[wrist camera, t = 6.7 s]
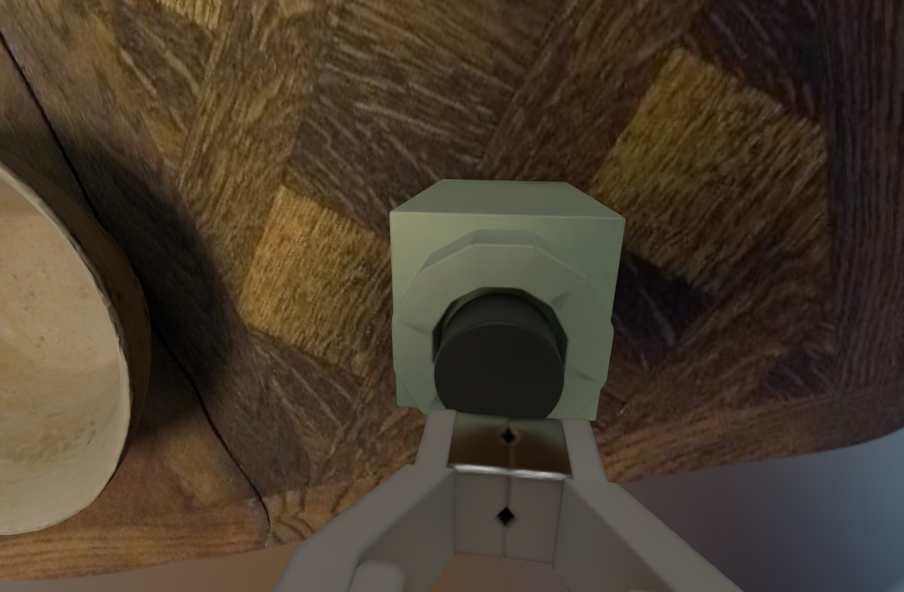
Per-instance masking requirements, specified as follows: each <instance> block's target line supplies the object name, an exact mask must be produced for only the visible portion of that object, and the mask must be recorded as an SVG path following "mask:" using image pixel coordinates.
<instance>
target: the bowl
mask: <svg viewBox="0 0 904 592" xmlns="http://www.w3.org/2000/svg"><path fill="white" fill-rule="evenodd" d="M151 357H152V339H151V325H150V316H149V309H148V304H147V301H146V299H145V296H144V293H143V290H142V287H141V284H140V282H139V280H138V278H137V276H136V275H135V273H134V271H133V270H132V268H131V265H130V262H129V261H128V259H127V257H126V256H125V254H124V253H123V252H122V250H121V249H120V247H119V246H118V245H117V243H116V242H115V241H114V240H113V238H112V237H111V236H110V235H109V233H107V232H106V231H105V230H104V228H103V227H102V226H101V225H100V224H99V222H98V221H97V220H96V219H95V218H94V217H93V216H92V215H91V214H90V213H89V212H88V211H87V210H86V209H85V208H84V207H83V206H82V205H81V204H79V203H78V202H77V201H76V200H75V199H74V198H73V197H71V196H70V195H69V194H68V193H67V192H66V191H65V190H63V189H62V188H61V187H60V186H58V185H57V184H55V183H54V182H53V181H51V180H50V179H48V178H47V177H45V176H44V175H42V174H41V173H40V172H38V171H37V170H35V169H34V168H32V167H30V166H28V165H26V164H25V163H23V162H22V161H20V160H19V159H17V158H16V157H14V156H13V155H11V154H10V153H8V152H7V151H5V150H3V149H2V148H0V535H12V534H19V533H25V532H32V531H38V530H42V529H45V528H48V527H51V526H53V525H55V524H58V523H60V522H62V521H64V520H66V519H68V518H70V517H72V516H73V515H75V514H77V513H79V512H81V511H82V510H83V509H85V508H86V507H88V506H89V505H90V504H91V503H92V502H94V501H95V500H96V498H97V497H98V496H99V495H100V494H101V493H102V492H103V490H104V489H105V488H106V486H107V485H108V484H109V482H110V481H111V480H112V478H113V477H114V475H115V473H116V471H117V470H118V468H119V466H120V465H121V463H122V461H123V460H124V458H125V456H126V454H127V452H128V449H129V447H130V445H131V443H132V440H133V438H134V435H135V432H136V429H137V426H138V423H139V419H140V416H141V413H142V410H143V406H144V403H145V399H146V395H147V391H148V382H149V375H150V370H151Z"/></svg>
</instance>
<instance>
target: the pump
mask: <svg viewBox="0 0 904 592" xmlns="http://www.w3.org/2000/svg"><path fill="white" fill-rule="evenodd" d="M434 383H435V388H436V391H437V394H438V396H439V398H440V400H441V402H442V404H443V405H444V407H445V408H446V409H451V410H456V411H458V410H462V411H472V412H483V413H493V414H503V415H508V416H523V417H539V418H547V417H548V416H549V415H550V413H551V412H552V411H553V410H554V408H555V407H556V405H557V404H558V402H559V400H560V398H561V395H562V392H563V388H564V369H563V365H562V361H561V358H560V354H559V350H558V347H557V343H556V339H555V336H554V332H553V329H552V326H551V324H550V322H549V321H548V319H547V317H546V316H545V315H544V314H543V312H542V311H541V310H540V309H538V308H537V307H536V306H535V305H533V304H532V303H531V302H529V301H527V300H525V299H523V298H520V297H517V296H514V295H509V294H488V295H483V296H479V297H477V298H474V299H472V300H470V301H468V302H467V303H465V304H464V305H462V306H461V307H460V308H459V309H458V310H457V311H456V312H455V313H454V314H453V316H452V317H451V318H450V320H449V322H448V324H447V327H446V329H445V332H444V336H443V339H442V342H441V346H440V349H439V352H438V356H437V359H436V363H435V367H434Z"/></svg>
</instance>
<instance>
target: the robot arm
mask: <svg viewBox="0 0 904 592" xmlns="http://www.w3.org/2000/svg"><path fill="white" fill-rule="evenodd" d="M454 553H456V554H467V555H480V556H493V557H504V558H511V559H518V560H525V561H532V562H540V563H547V564H554V566H553V567H554V569H555V570H556V572H557V573H558V575H559V576H560V578H561V580H562V581H563V583H564V584H565V585H566V587H567V589H568V590H569V592H743V591H742V590H741V589H740V588H738V587H737V586H736V585H735V584H734V583H733V582H731V581H730V580H729V579H728V578H727V577H726V576H724V575H723V574H722V573H721V572H720V571H719V570H717V569H716V568H715V567H714V566H713V565H711V564H710V563H709V562H708V561H707V560H706V559H705V558H703V557H702V556H701V555H700V554H699V553H698V552H697V551H695V550H694V549H693V548H692V547H691V546H690V545H688V544H687V543H686V542H685V541H684V540H683V539H681V538H680V537H679V536H678V535H676V534H675V533H674V532H673V531H672V530H671V529H669V527H667V526H666V525H665V524H664V523H663V522H662V521H660V520H659V519H658V518H657V517H656V516H655V515H653V514H652V513H651V512H650V511H649V510H648V509H647V508H645V507H644V506H643V505H642V504H641V503H639V502H638V501H637V500H636V499H635V498H634V497H633V496H631V495H630V494H629V493H628V492H627V491H626V490H624V489H623V488H622V487H621V486H620V485H619V484H617V483H610V482H608V480H607V476H606V473H605V470H604V467H603V463H602V460H601V457H600V454H599V451H598V447H597V444H596V441H595V438H594V435H593V431H592V428H591V425H590V422H589V421H588V420H587V419H568V418H560V419H555V418H539V417H523V416H508V415H503V414H493V413H483V412H472V411H462V410H458V411H456V410H451V409H437V408H432V409H431V410H430V411H429V414H428V417H427V421H426V425H425V428H424V432H423V435H422V439H421V442H420V446H419V450H418V453H417V457H416V460H415V464H414V465H409V464H406V465H405V466H403V467H402V468H401V469H399V470H398V471H397V472H395V473H394V474H393V475H391V476H390V477H389V478H387V479H386V480H385V481H383V482H382V483H381V484H379V485H378V486H377V487H375V488H374V489H373V490H371V491H370V492H369V493H367V494H366V495H365V496H363V497H362V498H361V499H359V500H358V501H357V502H355V503H354V504H353V505H351V506H350V507H349V508H347V509H346V510H345V511H343V512H342V513H341V514H339V515H338V516H337V517H335V518H334V519H333V520H331V521H330V522H329V523H327V524H326V525H325V526H323V527H322V528H321V529H319V530H318V531H317V532H315V533H314V534H313V535H311V536H310V537H309V538H307V539H306V540H305V541H303V542H302V543H301V544H299V545H298V546H297V547H295V549H294V551H293V553H292V554H291V557H290V558H289V560H288V562H287V564H286V566H285V568H284V570H283V572H282V574H281V576H280V578H279V580H278V581H277V583H276V585H275V587H274V589H273V591H272V592H428V590H429V589H430V588H431V587H432V585H433V584H434V583H435V581H436V580H437V579H438V577H439V576H440V575H441V573H442V572H443V571H444V570H445V568H446V567H447V566H448V564H449V563H450V561H451V560H452V559H453V558H454Z"/></svg>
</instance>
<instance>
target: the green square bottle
mask: <svg viewBox="0 0 904 592" xmlns="http://www.w3.org/2000/svg"><path fill="white" fill-rule="evenodd" d="M625 221H626V220H625V218H624V217H622V216H621V215H619V214H617V213H616V212H614V211H613V210H611V209H609V208H608V207H606V206H604V205H603V204H601V203H600V202H598V201H596V200H595V199H593V198H591V197H590V196H588V195H587V194H585V193H583V192H582V191H580V190H578V189H577V188H575V187H574V186H572V185H570V184H569V183H567V182H551V181H500V180H449V179H442V180H440V181H439V182H437V183H435V184H434V185H432V186H431V187H429V188H427V189H426V190H424V191H423V192H421V193H419V194H418V195H416V196H415V197H413V198H411V199H410V200H408V201H407V202H405V203H403V204H402V205H400V206H399V207H397V208H395V209H394V210H392V211H390V239H391V265H392V290H393V316H392V344H393V366H394V371H395V373H396V390H397V405H398V406H401V407H415V408H419V409H420V411H421V412H422V413H423V414H425V415H427V416H428V414H429V411H430V410H431V409H432V408H437V409H446V408H445V407H444V405H443V404H442V402H441V400H440V398H439V396H438V394H437V391H436V388H435V383H434V367H435V363H436V359H437V356H438V352H439V349H440V346H441V342H442V339H443V336H444V332H445V329H446V327H447V324H448V322H449V320H450V318H451V317H452V316H453V314H454V313H455V312H456V311H457V310H458V309H459V308H460V307H461V306H462V305H464V304H465V303H467V302H468V301H470V300H472V299H474V298H477V297H479V296H483V295H488V294H509V295H514V296H517V297H520V298H523V299H525V300H527V301H529V302H531V303H532V304H533V305H535V306H536V307H537V308H538V309H540V310H541V311H542V312H543V314H544V315H545V316H546V317H547V319H548V321H549V322H550V324H551V326H552V329H553V332H554V336H555V339H556V343H557V347H558V350H559V354H560V358H561V361H562V365H563V369H564V388H563V392H562V395H561V398H560V400H559V402H558V404H557V405H556V407H555V408H554V410H553V411H552V412H551V413H550V415H549V416H548V417H547V418H555V419H560V418H568V419H587V420H592V421H594V420H596V415H597V409H598V402H599V395H600V389H601V388H602V387H603V386H604V384H605V382H606V380H607V374H608V367H609V360H610V354H611V347H612V341H613V334H614V331H613V330H614V328H613V326H612V324H611V322H610V321H611V315H612V308H613V301H614V295H615V288H616V281H617V274H618V268H619V261H620V254H621V248H622V241H623V234H624V227H625Z"/></svg>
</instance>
